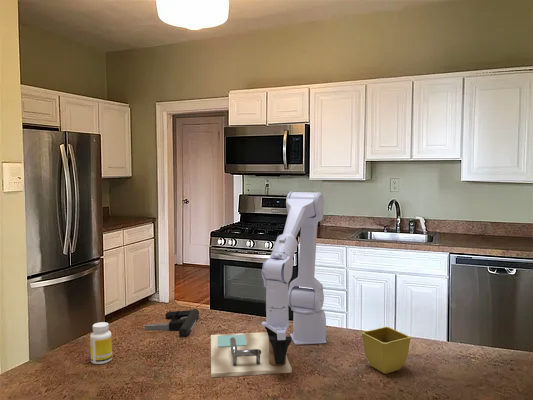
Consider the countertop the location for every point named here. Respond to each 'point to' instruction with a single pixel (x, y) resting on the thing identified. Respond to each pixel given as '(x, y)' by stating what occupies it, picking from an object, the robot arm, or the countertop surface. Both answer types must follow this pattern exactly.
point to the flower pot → (386, 348)
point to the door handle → (177, 322)
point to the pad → (225, 340)
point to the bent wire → (243, 352)
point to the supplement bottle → (101, 343)
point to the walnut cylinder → (271, 357)
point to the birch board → (244, 358)
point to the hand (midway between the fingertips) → (277, 357)
